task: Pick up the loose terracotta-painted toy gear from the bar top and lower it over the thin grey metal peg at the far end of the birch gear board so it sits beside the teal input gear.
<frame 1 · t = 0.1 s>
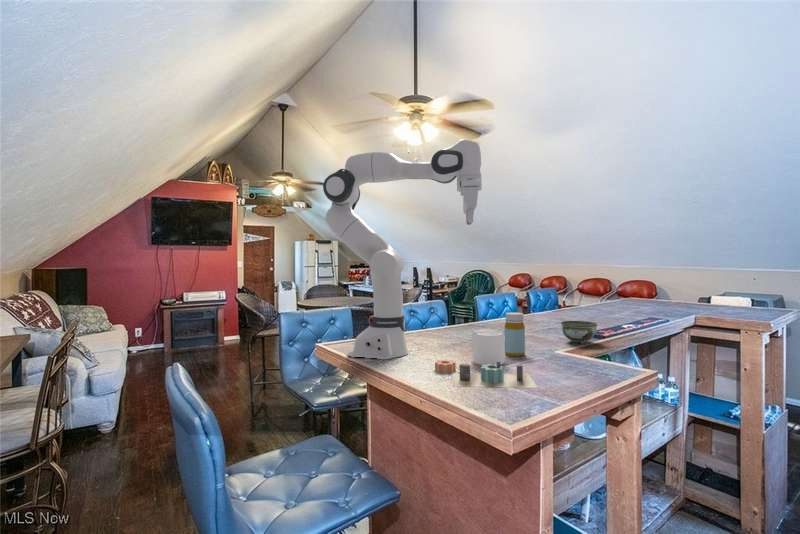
hand: (469, 223, 141), 48 cm above the table, fingers open, 8 cm apart
mug: (487, 364, 129), on the table
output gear: (445, 373, 119), on the table
bowl: (578, 343, 158), on the table
bottle: (514, 355, 141), on the table
gear board: (492, 384, 108), on the table
input gear: (492, 379, 108), point 1 cm above the table, touching gear board
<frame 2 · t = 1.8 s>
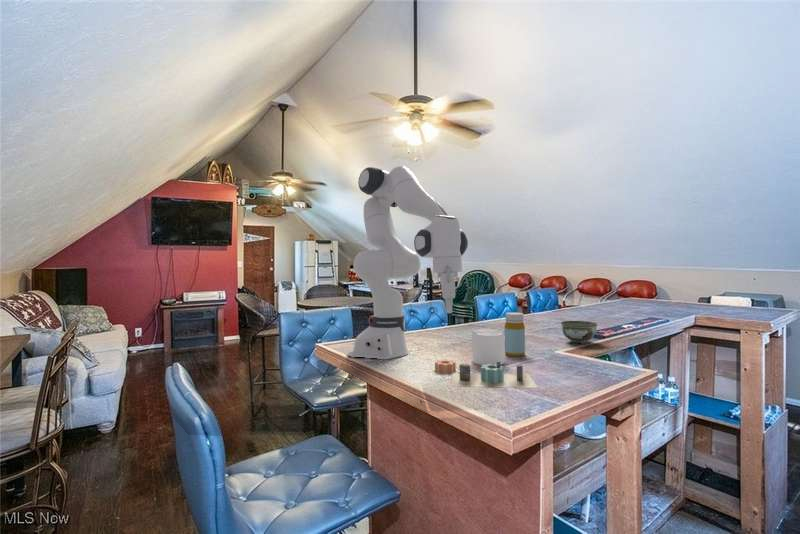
hand: (448, 311, 120), 19 cm above the table, fingers open, 8 cm apart
nothing on the table moved.
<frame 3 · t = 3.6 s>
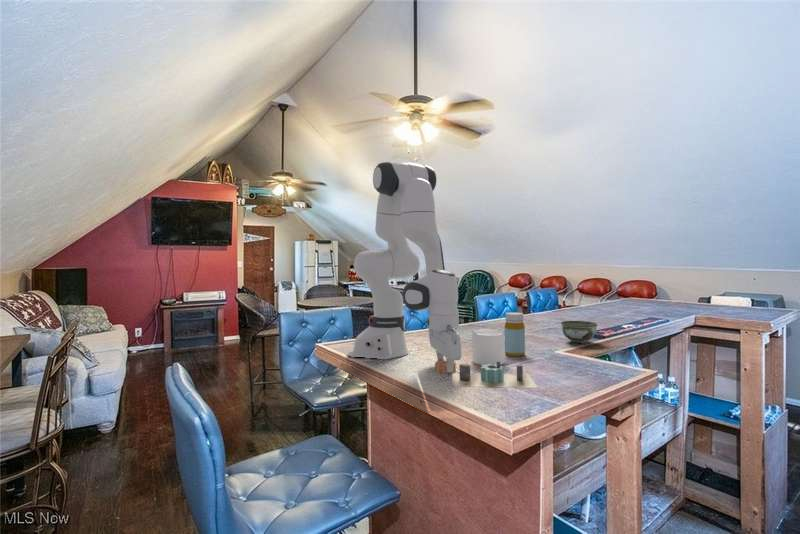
hand: (445, 368, 118), 2 cm above the table, fingers open, 6 cm apart
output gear: (445, 373, 119), on the table, touching gripper
everything else where it was.
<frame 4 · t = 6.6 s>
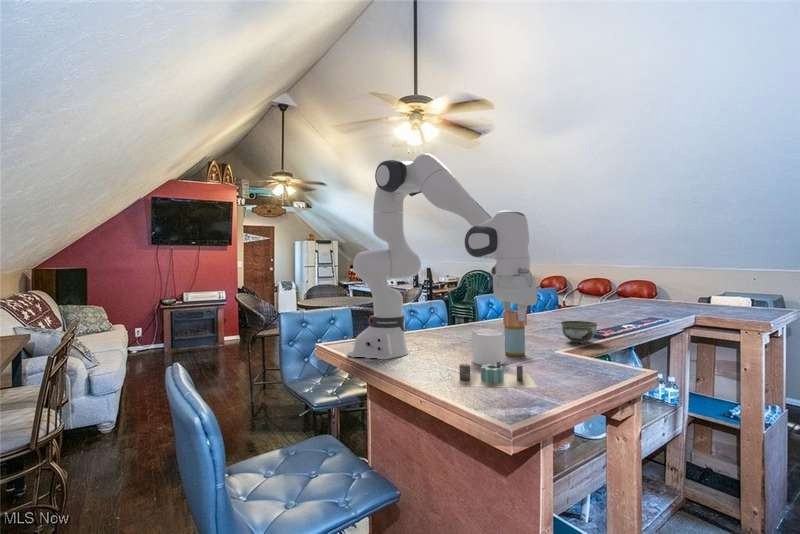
hand: (514, 319, 107), 18 cm above the table, fingers closed on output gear, 6 cm apart
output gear: (515, 325, 107), point 17 cm above the table, touching gripper
everything else where it was.
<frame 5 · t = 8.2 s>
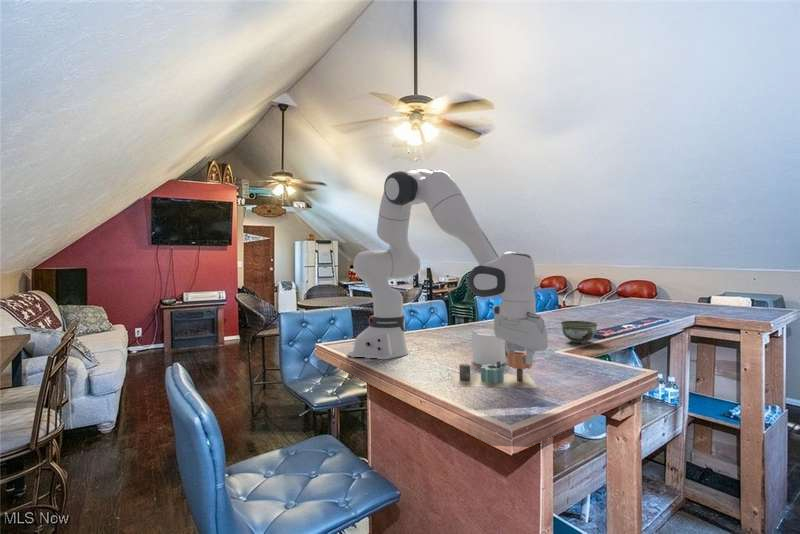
hand: (519, 360, 107), 7 cm above the table, fingers closed on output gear, 6 cm apart
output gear: (519, 366, 107), point 5 cm above the table, touching gripper
everything else where it was.
when the fingers open (4 cm above the table, at t = 9.3 s): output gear stays where it is, resting on gear board.
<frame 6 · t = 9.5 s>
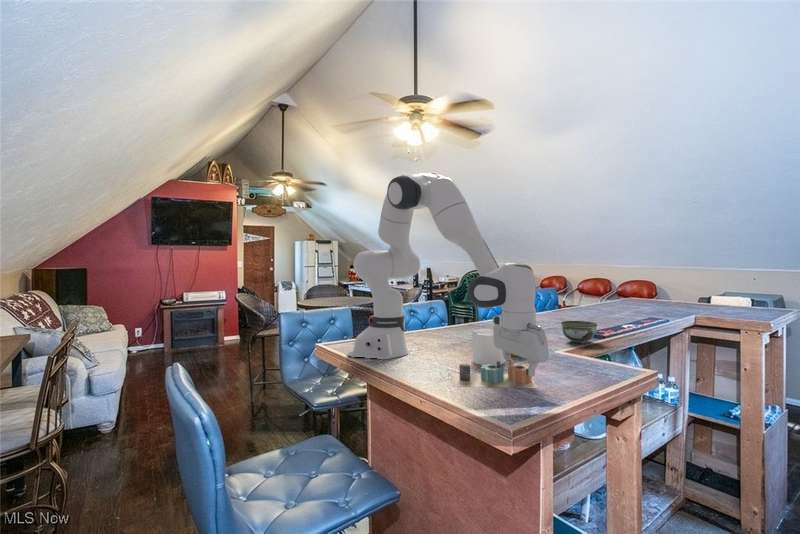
hand: (519, 371, 107), 4 cm above the table, fingers open, 8 cm apart
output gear: (519, 380, 107), point 1 cm above the table, touching gear board
everything else where it was.
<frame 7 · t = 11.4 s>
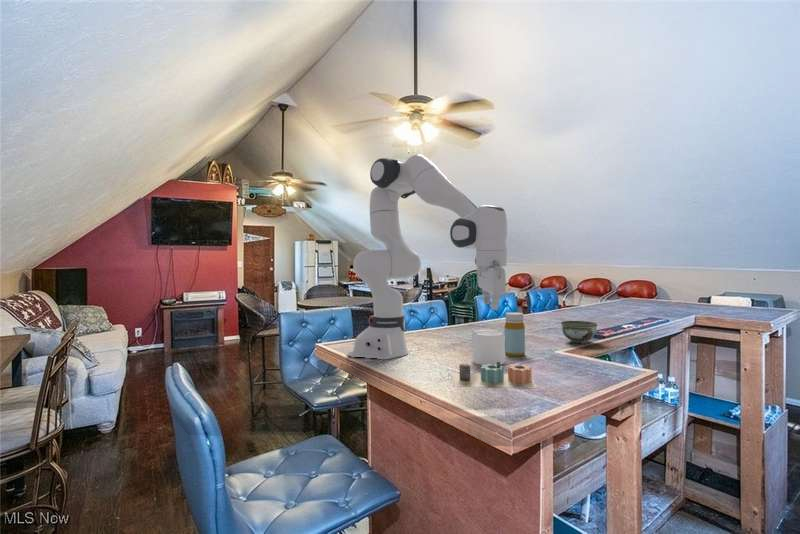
hand: (490, 306, 116), 21 cm above the table, fingers open, 8 cm apart
nothing on the table moved.
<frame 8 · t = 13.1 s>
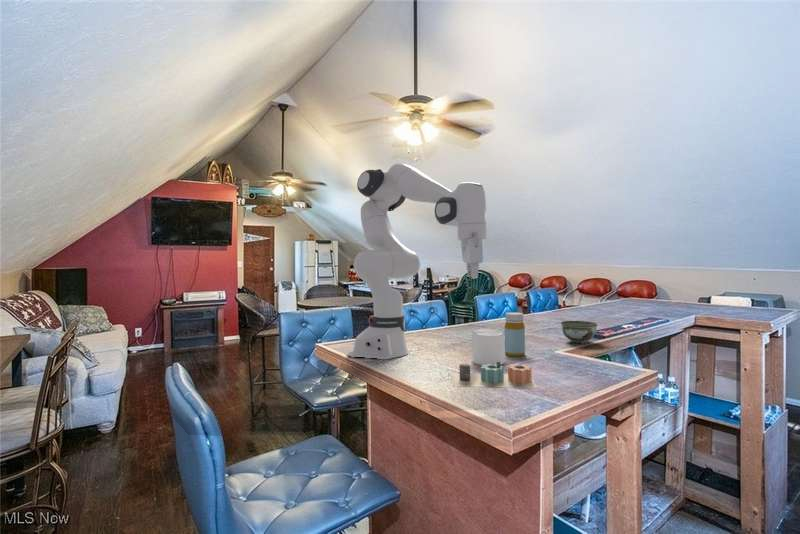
hand: (472, 277, 122), 29 cm above the table, fingers open, 8 cm apart
nothing on the table moved.
at the end: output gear 0.1 cm from the target spot on the gear board, point 1.2 cm above the gear board's base; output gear tilted 0°; the gripper is holding nothing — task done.
